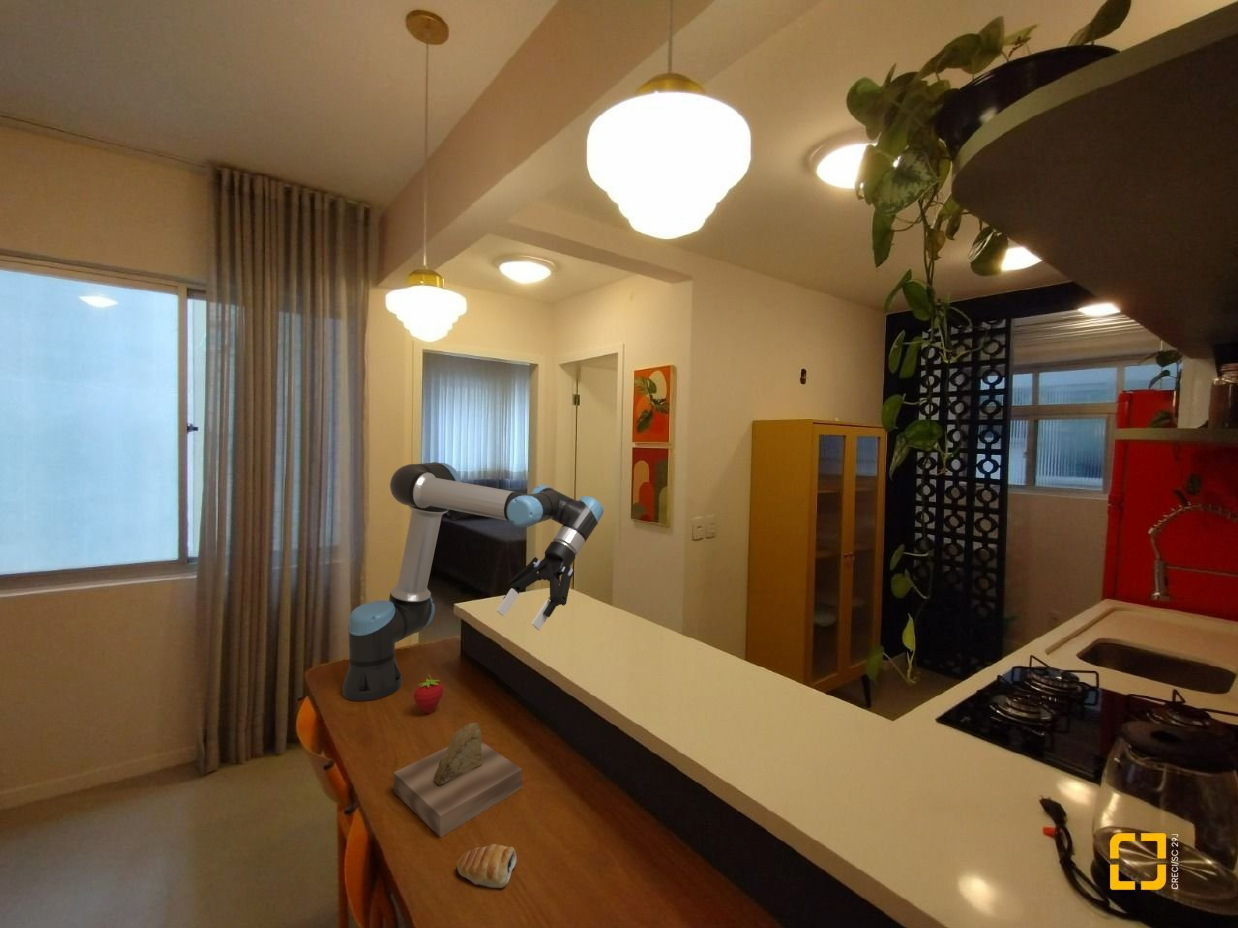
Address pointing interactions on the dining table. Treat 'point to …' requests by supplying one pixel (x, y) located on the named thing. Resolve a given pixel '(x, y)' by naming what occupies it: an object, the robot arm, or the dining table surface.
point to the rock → (461, 754)
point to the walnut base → (456, 789)
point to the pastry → (488, 865)
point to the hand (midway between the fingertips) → (516, 620)
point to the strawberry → (428, 695)
